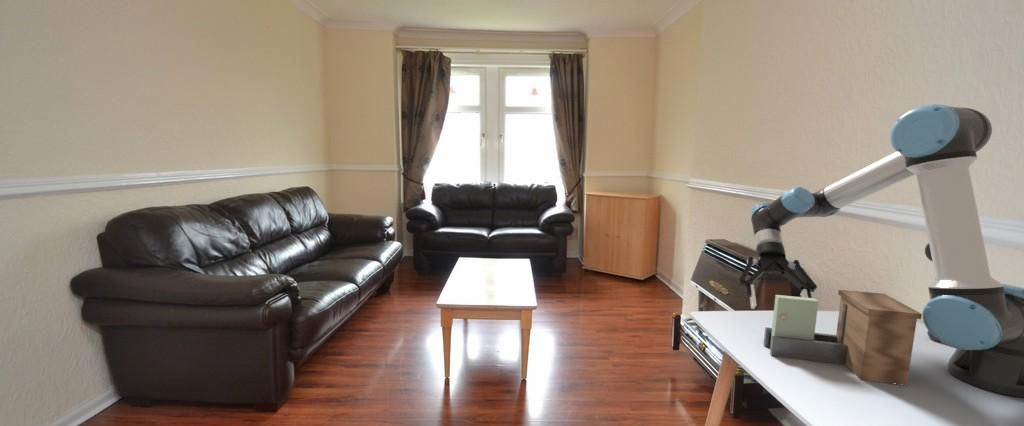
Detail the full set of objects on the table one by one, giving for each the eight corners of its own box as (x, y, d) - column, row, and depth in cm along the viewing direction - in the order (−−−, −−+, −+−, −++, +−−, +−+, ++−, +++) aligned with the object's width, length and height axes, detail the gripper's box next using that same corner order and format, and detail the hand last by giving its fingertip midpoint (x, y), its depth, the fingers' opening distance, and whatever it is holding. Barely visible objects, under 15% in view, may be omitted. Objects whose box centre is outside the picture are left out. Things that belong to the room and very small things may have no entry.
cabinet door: (808, 353, 115) (814, 298, 113) (812, 358, 112) (819, 302, 110) (769, 348, 118) (775, 294, 116) (773, 353, 115) (779, 298, 113)
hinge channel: (833, 353, 116) (835, 334, 115) (845, 365, 109) (847, 345, 108) (763, 344, 120) (765, 327, 119) (771, 355, 113) (773, 337, 113)
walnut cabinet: (875, 358, 113) (884, 293, 111) (910, 387, 99) (921, 314, 97) (830, 352, 116) (838, 289, 114) (859, 380, 102) (868, 308, 99)
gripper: (810, 256, 136) (825, 320, 124) (723, 250, 143) (729, 310, 130) (819, 243, 131) (836, 308, 118) (728, 237, 137) (735, 298, 125)
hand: (780, 309), depth 124 cm, fingers open, 13 cm apart
